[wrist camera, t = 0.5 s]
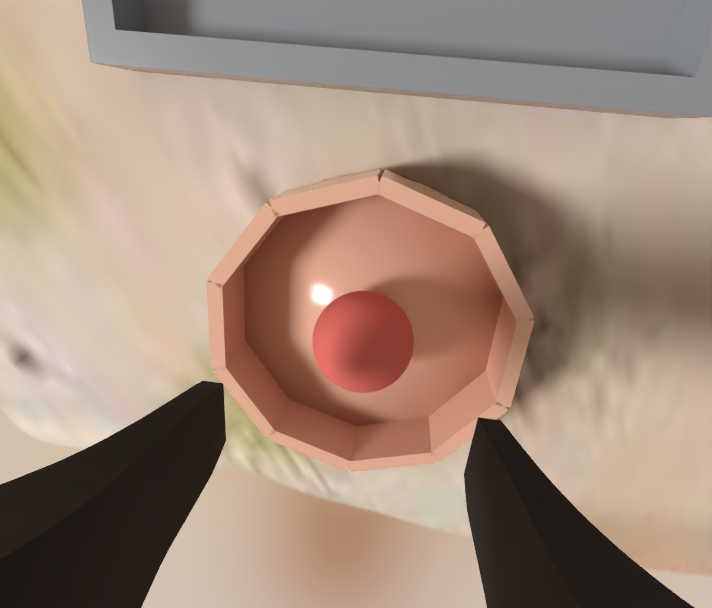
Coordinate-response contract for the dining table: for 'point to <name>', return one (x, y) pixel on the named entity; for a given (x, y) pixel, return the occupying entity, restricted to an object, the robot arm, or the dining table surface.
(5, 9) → the dining table surface
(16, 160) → the dining table surface
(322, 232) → the pink bowl
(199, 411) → the robot arm
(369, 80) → the tray
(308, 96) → the dining table surface
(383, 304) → the ball
